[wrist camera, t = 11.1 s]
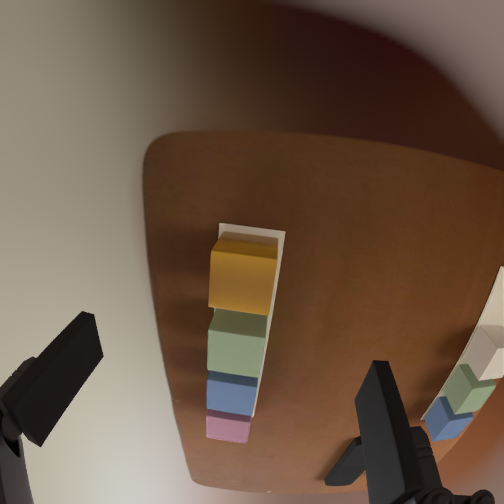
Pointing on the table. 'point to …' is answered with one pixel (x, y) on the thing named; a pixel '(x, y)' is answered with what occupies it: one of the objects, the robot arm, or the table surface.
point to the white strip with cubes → (471, 371)
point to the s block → (243, 272)
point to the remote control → (348, 466)
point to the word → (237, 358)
